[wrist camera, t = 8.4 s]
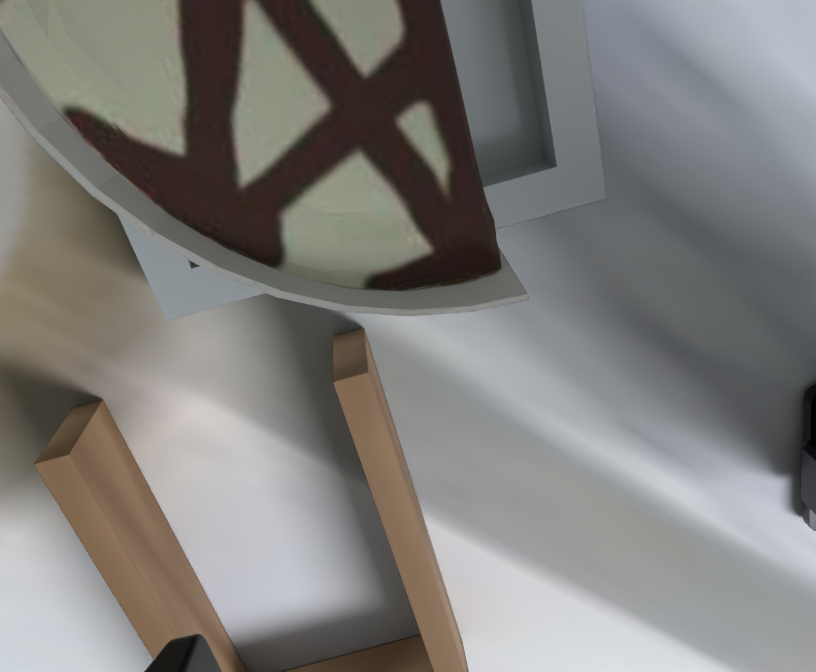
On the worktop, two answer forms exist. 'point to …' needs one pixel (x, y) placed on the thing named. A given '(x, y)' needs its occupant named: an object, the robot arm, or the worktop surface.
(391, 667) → the dock
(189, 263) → the tray
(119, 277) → the worktop surface
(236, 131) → the food container
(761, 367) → the worktop surface
